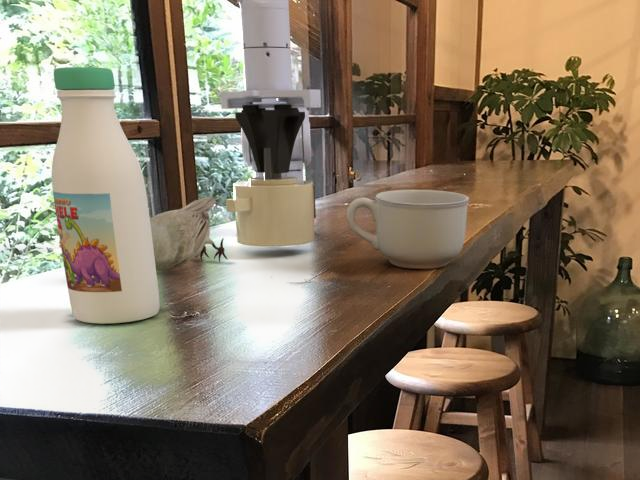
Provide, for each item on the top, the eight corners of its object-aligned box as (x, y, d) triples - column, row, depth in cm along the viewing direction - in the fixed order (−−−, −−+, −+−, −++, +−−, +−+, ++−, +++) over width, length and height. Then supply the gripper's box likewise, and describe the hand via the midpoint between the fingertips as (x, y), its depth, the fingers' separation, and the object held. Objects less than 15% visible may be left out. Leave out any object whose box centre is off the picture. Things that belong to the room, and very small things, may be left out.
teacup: (465, 257, 100) (468, 189, 96) (466, 274, 90) (470, 198, 87) (353, 256, 101) (352, 189, 98) (343, 272, 91) (341, 198, 88)
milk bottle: (133, 302, 78) (103, 70, 70) (177, 315, 73) (150, 67, 65) (57, 316, 73) (15, 68, 65) (99, 330, 68) (58, 64, 60)
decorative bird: (106, 281, 88) (95, 209, 85) (199, 259, 101) (193, 195, 97) (144, 285, 85) (134, 211, 82) (234, 262, 98) (229, 197, 95)
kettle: (284, 230, 113) (280, 144, 108) (342, 236, 107) (340, 145, 103) (204, 245, 101) (195, 149, 96) (264, 252, 96) (258, 151, 91)
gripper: (198, 50, 96) (209, 172, 102) (290, 44, 88) (296, 176, 94) (240, 53, 101) (247, 169, 107) (330, 47, 93) (333, 172, 99)
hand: (273, 172), depth 101 cm, fingers closed on kettle, 2 cm apart
